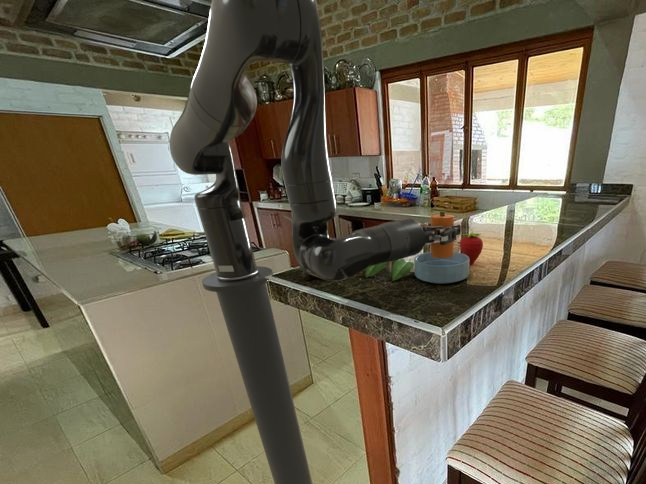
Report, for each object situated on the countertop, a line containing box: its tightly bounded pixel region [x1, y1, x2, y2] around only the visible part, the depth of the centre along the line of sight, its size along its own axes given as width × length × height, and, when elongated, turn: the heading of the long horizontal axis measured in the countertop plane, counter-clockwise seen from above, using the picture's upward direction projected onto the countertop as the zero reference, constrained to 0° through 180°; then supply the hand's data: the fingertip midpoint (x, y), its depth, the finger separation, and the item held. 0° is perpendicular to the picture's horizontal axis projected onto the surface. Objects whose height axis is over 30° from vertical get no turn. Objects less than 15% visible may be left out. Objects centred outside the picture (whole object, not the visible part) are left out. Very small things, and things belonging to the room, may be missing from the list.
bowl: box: [413, 251, 470, 285], centre depth 80 cm, size 13×13×4 cm
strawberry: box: [459, 226, 484, 266], centre depth 87 cm, size 6×8×10 cm
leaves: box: [365, 258, 414, 282], centre depth 84 cm, size 18×6×13 cm
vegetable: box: [430, 210, 455, 258], centre depth 77 cm, size 5×5×10 cm
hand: (449, 227), depth 78 cm, fingers closed on vegetable, 5 cm apart
